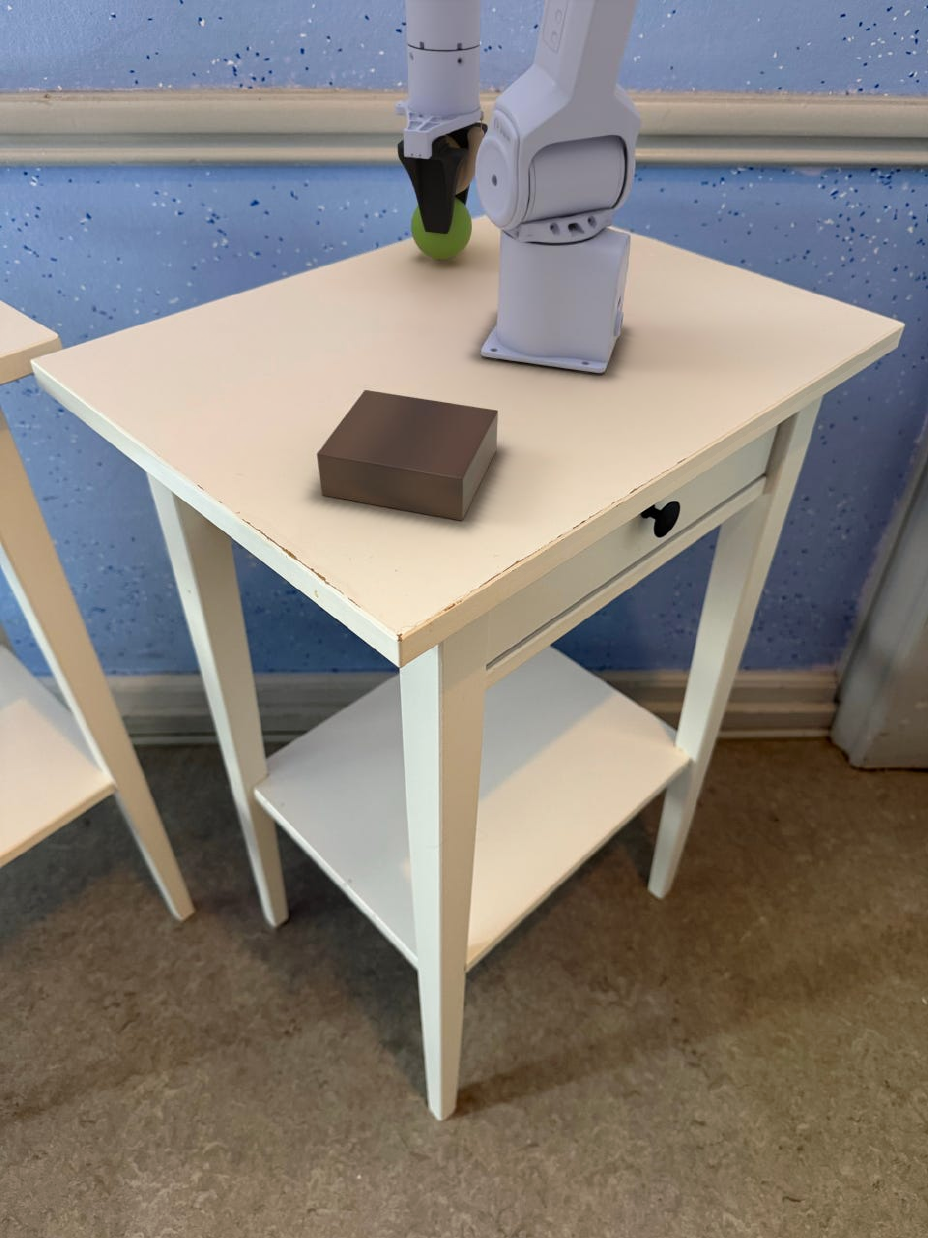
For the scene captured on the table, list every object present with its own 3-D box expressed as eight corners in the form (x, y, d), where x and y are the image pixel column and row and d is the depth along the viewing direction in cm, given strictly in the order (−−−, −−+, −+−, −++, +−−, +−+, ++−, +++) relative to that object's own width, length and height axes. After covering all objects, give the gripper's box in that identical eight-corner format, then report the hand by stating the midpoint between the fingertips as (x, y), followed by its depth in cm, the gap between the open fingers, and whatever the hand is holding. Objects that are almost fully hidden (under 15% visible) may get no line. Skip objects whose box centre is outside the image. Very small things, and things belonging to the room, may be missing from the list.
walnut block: (496, 450, 59) (498, 409, 57) (462, 521, 54) (462, 478, 52) (367, 429, 61) (364, 389, 59) (321, 495, 56) (316, 453, 54)
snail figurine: (482, 269, 81) (484, 122, 73) (410, 269, 81) (404, 121, 73) (482, 244, 85) (484, 102, 76) (413, 244, 85) (408, 101, 77)
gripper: (423, 22, 77) (426, 191, 86) (361, 59, 66) (372, 247, 76) (504, 27, 75) (498, 199, 84) (454, 66, 65) (454, 257, 74)
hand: (444, 222), depth 80 cm, fingers closed on snail figurine, 4 cm apart
